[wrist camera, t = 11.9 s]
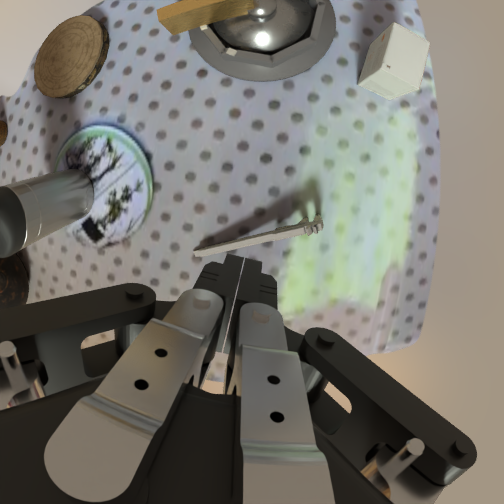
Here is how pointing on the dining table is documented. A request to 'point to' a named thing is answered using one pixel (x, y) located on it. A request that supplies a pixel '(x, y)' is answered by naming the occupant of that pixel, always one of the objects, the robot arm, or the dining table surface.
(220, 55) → the dial housing
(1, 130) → the utensil holder
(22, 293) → the glass bottle
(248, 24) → the dial
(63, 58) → the wooden log slice
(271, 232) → the caliper
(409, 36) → the small box
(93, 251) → the dining table surface
